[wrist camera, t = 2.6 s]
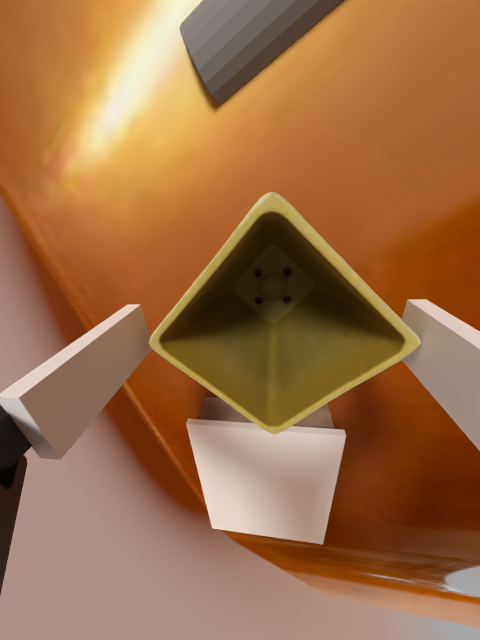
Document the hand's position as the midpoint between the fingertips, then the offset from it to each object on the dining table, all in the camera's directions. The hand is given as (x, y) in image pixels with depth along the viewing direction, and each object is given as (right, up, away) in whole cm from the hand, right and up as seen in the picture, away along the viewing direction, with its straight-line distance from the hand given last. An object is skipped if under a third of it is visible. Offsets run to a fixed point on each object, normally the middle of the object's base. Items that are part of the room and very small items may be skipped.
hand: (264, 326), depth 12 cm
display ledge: (+2, -16, +16) cm, 23 cm away
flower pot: (+1, +3, +6) cm, 7 cm away
